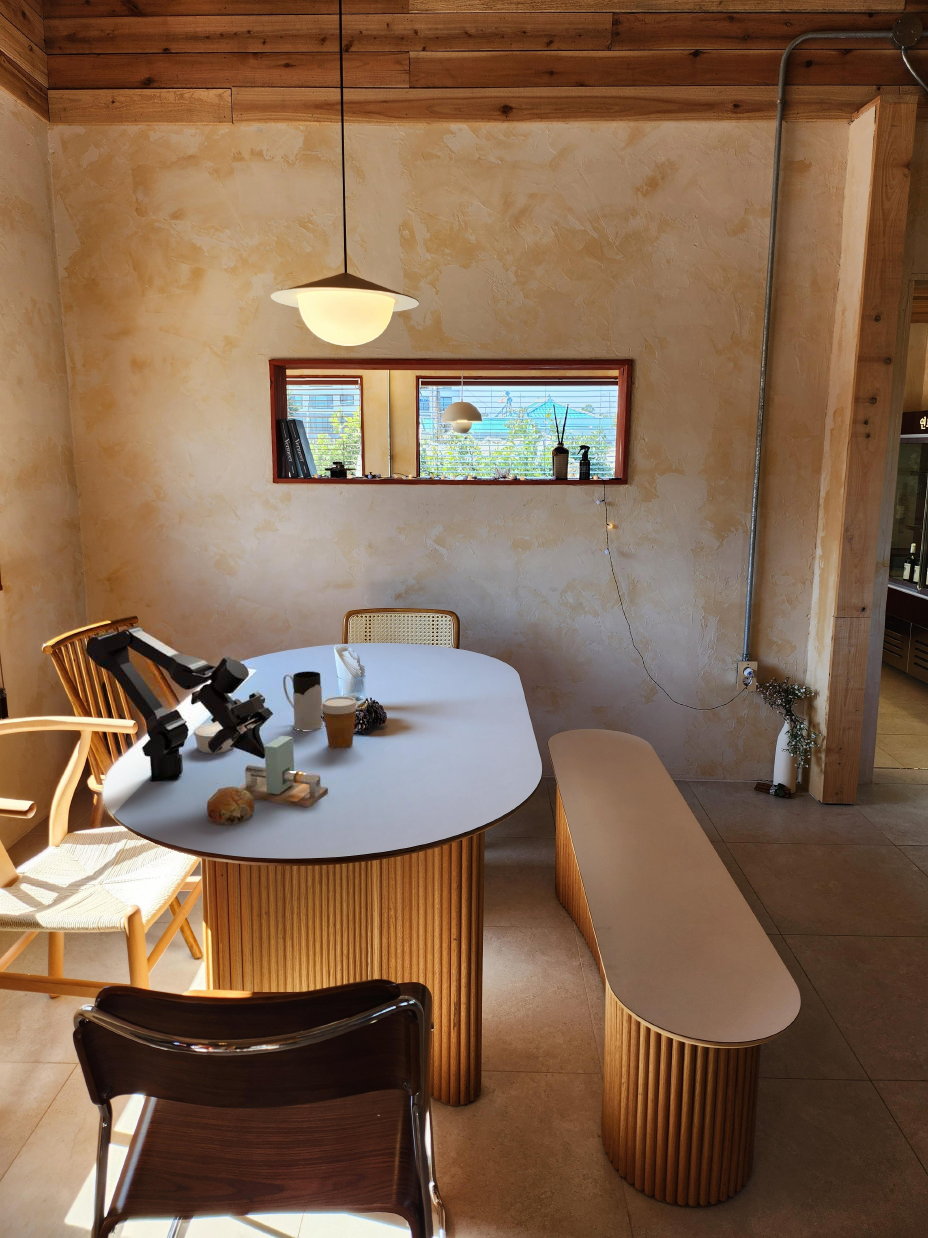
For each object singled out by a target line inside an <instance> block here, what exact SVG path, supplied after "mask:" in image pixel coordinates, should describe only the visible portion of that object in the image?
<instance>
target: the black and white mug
mask: <svg viewBox="0 0 928 1238" xmlns="http://www.w3.org/2000/svg"><path fill="white" fill-rule="evenodd" d="M287 677H289V678H290V680H291V682H292V689H293V693H292V696H293V700H291V699H290V696H289V693H288V690H287V684H286V678H287ZM321 682H322V681H321V673H320V672H318V671H310V670H309V671H299V672H295V673H294V674H293V675H292V674H285V675H284V676H283V680H282V685H283V691H284V694H285V697H286V700H287V701H288V703H289V704H290V706H291V707H292V709H293V714H294V715H293V720H294V721H293V726H292V728H293V727H294V728H296V729H299V730H314V731H316V730H315V729H318V728H321V727H322V726H323V723H324V722H323V723H322V718H323V710H322V709H321V706H322V704H323V696H322V694H323V692H322V690H323V689H322V684H321ZM292 701H293V702H292ZM321 716H322V718H321ZM294 728H293V729H294ZM321 729H322V728H321ZM299 730H298V731H299ZM318 730H319V729H318Z"/></svg>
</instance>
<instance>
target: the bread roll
mask: <svg viewBox="0 0 928 1238" xmlns="http://www.w3.org/2000/svg"><path fill="white" fill-rule="evenodd" d="M206 813H207V817H208V820H209V822H211V823H212V824H215V825H220V826H223V825H225V826H226V825H227V826H228V825H236V824H239V823H241V822H244V821H246V820H247V819H249V818H250V817H251V816H253V814H254V813H255V799H253V797H252V796H251V794H250V793H249V792H247V791H246V790H244V789H241V788H240V787H238V786H226V787H221V788H218V789H217V791H216V792H215V793H213V795H212V796H211V797H210V798H209V799H208V800H207V802H206Z"/></svg>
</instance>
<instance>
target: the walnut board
mask: <svg viewBox="0 0 928 1238" xmlns="http://www.w3.org/2000/svg"><path fill="white" fill-rule="evenodd" d="M239 788H241V789H244V790H246V791H247V792H249V793H250V794H251V796H252V797H253V799H254V800H258V801H259V800H261V801H265V802H272V803H278V804H285V805H291V806H296V807H304V808H310V807H311V806H312V805H314V804H315V803H316V802H317V801H318V800H320V799H321V798H322V797H323V796H325V795H326V794H327V793H328V792H329V787H326V786H321V793H320V794H319V795H318V796H317V797H310V794H309V785H307V784H298V783H294V784H292V785H291V786H289V787H288V788H287V789H285V790H284V791H282V792H281V793H280V794H273V793H267V786H266V778H260V777H257V784H256V785H254V786H253V787H246V783H245V784H243V785H241V786H240V787H239Z"/></svg>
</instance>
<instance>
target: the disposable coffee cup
mask: <svg viewBox="0 0 928 1238" xmlns="http://www.w3.org/2000/svg"><path fill="white" fill-rule="evenodd" d="M321 709H322V714H323V718H324V719H323V720H324V727H325V730H326V737H327V743H328V744H327V745H328V746H329V747H330V748H331V749H337V750H338V749H339V750H340V749H347V748H351V747H352V746H353V741H354V735H355V733H354V731H355V723H356V712H357V709H358V703H357V700H356V699H355V698H353V697H351V696H350V697H349V696H333V697H328V698H326V699H323V700H322V706H321Z"/></svg>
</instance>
